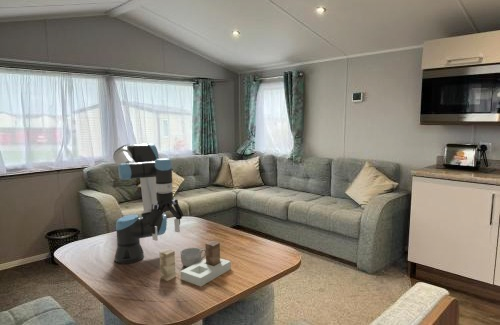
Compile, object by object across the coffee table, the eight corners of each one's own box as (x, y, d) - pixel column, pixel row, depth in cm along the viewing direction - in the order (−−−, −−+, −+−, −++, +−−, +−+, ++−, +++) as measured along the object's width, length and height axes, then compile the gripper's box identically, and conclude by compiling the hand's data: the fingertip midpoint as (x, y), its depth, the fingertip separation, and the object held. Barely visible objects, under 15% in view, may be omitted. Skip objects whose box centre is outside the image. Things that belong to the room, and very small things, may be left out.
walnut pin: (206, 268, 168) (205, 243, 166) (212, 265, 172) (212, 240, 170) (213, 271, 165) (213, 245, 164) (220, 267, 169) (219, 242, 168)
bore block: (180, 279, 159) (180, 271, 159) (211, 263, 177) (211, 255, 177) (200, 286, 152) (200, 278, 151) (231, 268, 170) (230, 261, 169)
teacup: (181, 271, 168) (181, 255, 167) (180, 262, 179) (179, 248, 178) (209, 267, 172) (208, 252, 171) (206, 259, 182) (205, 245, 181)
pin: (160, 278, 161) (159, 252, 159) (168, 274, 165) (167, 248, 163) (167, 280, 158) (166, 254, 156) (175, 276, 162) (174, 250, 161)
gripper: (147, 197, 144) (150, 245, 147) (189, 188, 165) (191, 229, 167) (136, 195, 149) (139, 242, 151) (178, 186, 169) (180, 227, 171)
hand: (166, 235), depth 159 cm, fingers open, 13 cm apart
